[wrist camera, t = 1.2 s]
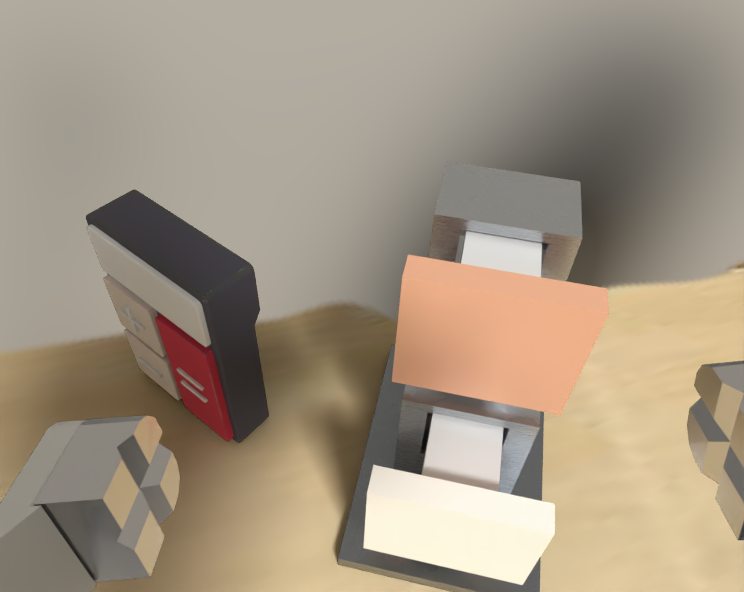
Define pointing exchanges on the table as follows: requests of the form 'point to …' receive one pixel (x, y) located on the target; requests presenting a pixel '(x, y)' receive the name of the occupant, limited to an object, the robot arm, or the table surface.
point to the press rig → (415, 404)
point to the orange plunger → (495, 325)
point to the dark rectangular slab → (184, 311)
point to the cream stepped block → (458, 507)
